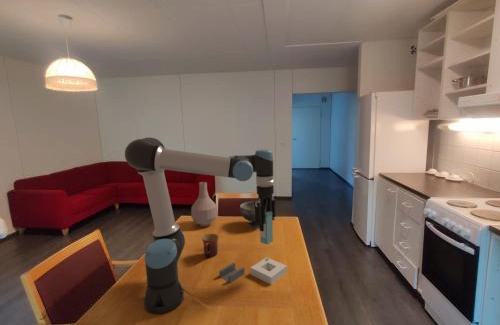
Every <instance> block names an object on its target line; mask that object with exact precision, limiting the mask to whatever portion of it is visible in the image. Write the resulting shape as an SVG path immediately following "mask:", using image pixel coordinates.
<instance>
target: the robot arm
mask: <svg viewBox="0 0 500 325" xmlns="http://www.w3.org/2000/svg"><path fill="white" fill-rule="evenodd" d="M124 158H125V161H126V163H127V164H128V165H129V166H130V167H131V168H134V169H136V170H137V174H138V175H141V176H142V178H143V183H144V187H145V191H146V195H147V199H148V204H149V209H150V212H151V217H152V220H153V225H154V230H153V231H152V238H153V242H151V243H150V244H149V245H148V244H147V246H146V248H145V250H144V262H145V263H144V264H145V275H146V282H147V283H146V284H147V287H146V288H145V289H146V290H145V293H144V297H143V307H144V309H145V311H147V312H148V313H150V314H153V315H162V314H166V313H169V312H171V311H173V310H176V309H177V308H178V307H179V306H181V304H182V303H183V301H184V298H185V293H184V288H183V286H182V284H181V282H180V279H179V269H178V268H179V267H178V263H179V260H180V258H181V255H182V253H183V251H184V248H185V244H186V237H185V234H184V232H183V231H182V230H181V226H180V225H179V224H178V223H176V220H175V215H174V211H173V207H172V203H171V197H170V193H169V189H168V184H167V180H166V176H165V175H166V174H165V170H166V171H174V172H175V171H176V172H181V173H182V172H183V173H192V174H199V175H207V176H216V177H221V178H222V177H223V178H231V179H236V180H237V181H238V182H247V181H249V180H250V179H251V178H252V176H253V174H254V173H256V174H255V181H256V182H255V184H256V194H257V195H258V196H257V197H258V198H257V200H256V201H257V202H254V206H255V218H256V223H258V224H259V227H260V228H258V229H259V235H260V237H263V238H266V224H265V223H264V221H265V211H270V212H272V226H274V225H273V221H275V219H276V214H277V212H276V208H277V207H276V204H277V202H276V201H277V196H276V195H273V194H274V193H275V189H274V188H275V186H274V154H273V151H272V150H271V149H257V150H255V154H252V155H251V154H249V155H248V154H247V155H246V154H245V155H230V156H228V157H227V156H218V155H213V154H205V153H198V152H197V153H196V152H192V151H191V152H189V151H183V150H182V151H181V150H174V149H167V148H166V147H165V144H164V143H163V142H162V141H161V140H160V139H158V138H155V137H143V138H138V139H134V140H132V141H131V142H129V143H128V144H127V146H126V147H125V149H124Z"/></svg>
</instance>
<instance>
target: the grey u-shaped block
mask: <svg viewBox="0 0 500 325" xmlns="http://www.w3.org/2000/svg"><path fill="white" fill-rule="evenodd" d="M218 272H219V278H221V279H223V280H224V281H226V282H227V283H229V284H231V283H233V282H235V281H236V280H238V279H239V278H241V277H242V276H244V275H245V267H244V266H242V267H240V268H238V269H236V263H235V262H232V263H230V264H228V265H227V266H225V267H223V268H221V269H220V270H219V271H218Z"/></svg>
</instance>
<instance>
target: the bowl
mask: <svg viewBox="0 0 500 325" xmlns="http://www.w3.org/2000/svg"><path fill="white" fill-rule="evenodd" d="M257 201H258V200H251V201H246V202H244V203H241V204H240V206H239V208H240V214H241V216H242V218H244V219H245V220H246V221H248V224H247V226H248V227H249V228H252V229H260V227H259V224H258V223H256V218H255V206H254V202H257Z"/></svg>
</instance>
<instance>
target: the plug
mask: <svg viewBox="0 0 500 325" xmlns="http://www.w3.org/2000/svg"><path fill="white" fill-rule="evenodd" d="M272 222H273V220H272V212H270V211H265V221H264V223H265V224H266V238H263V237H260V243H262V244H265V245H269V244H271V243H273V242H274V236H273V234H274V233H273V232H274V231H273V225H272Z"/></svg>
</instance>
